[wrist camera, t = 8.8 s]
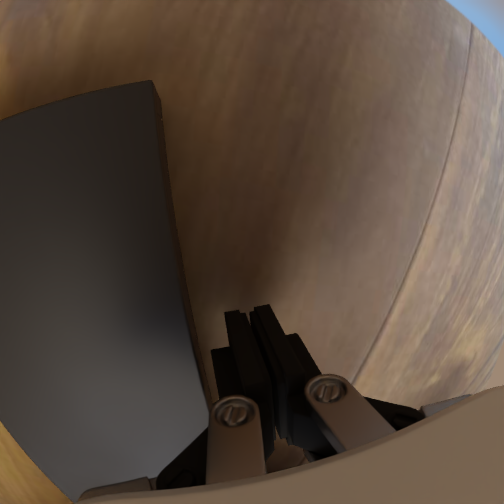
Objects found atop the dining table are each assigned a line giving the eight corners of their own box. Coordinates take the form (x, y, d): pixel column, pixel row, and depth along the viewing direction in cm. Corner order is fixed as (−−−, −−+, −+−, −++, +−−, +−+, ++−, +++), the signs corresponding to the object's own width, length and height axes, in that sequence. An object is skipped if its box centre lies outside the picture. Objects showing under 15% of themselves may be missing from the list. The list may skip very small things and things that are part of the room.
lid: (-43, 156, 8) (-100, 170, 5) (160, 97, 10) (152, 78, 6) (84, 459, 15) (79, 508, 11) (224, 447, 16) (237, 499, 13)
